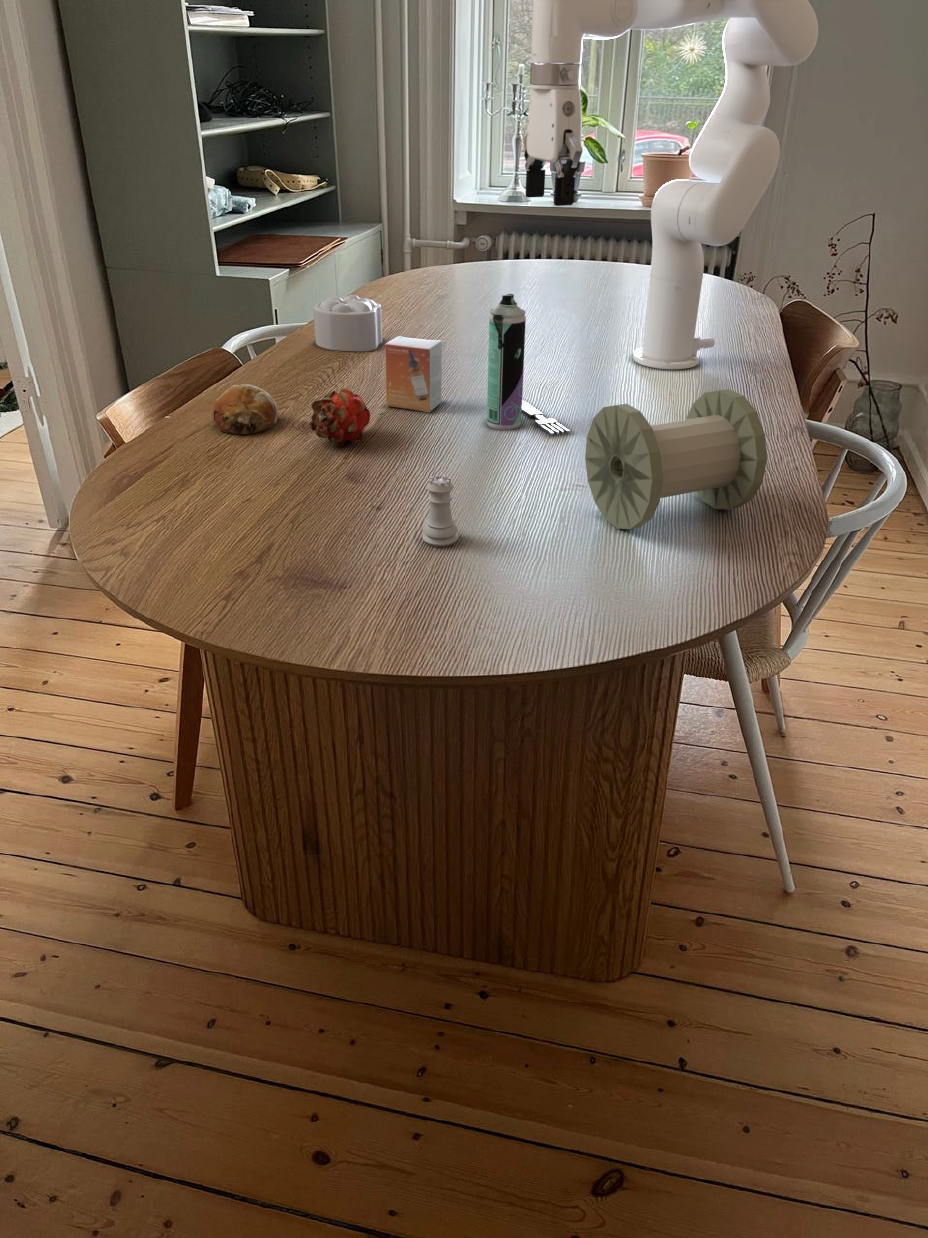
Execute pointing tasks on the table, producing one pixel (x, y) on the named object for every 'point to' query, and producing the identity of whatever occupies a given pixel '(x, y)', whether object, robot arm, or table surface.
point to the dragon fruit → (340, 417)
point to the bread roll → (244, 410)
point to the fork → (543, 420)
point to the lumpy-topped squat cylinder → (348, 324)
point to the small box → (413, 373)
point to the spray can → (506, 364)
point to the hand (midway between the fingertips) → (548, 200)
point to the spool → (675, 457)
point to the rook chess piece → (440, 514)
